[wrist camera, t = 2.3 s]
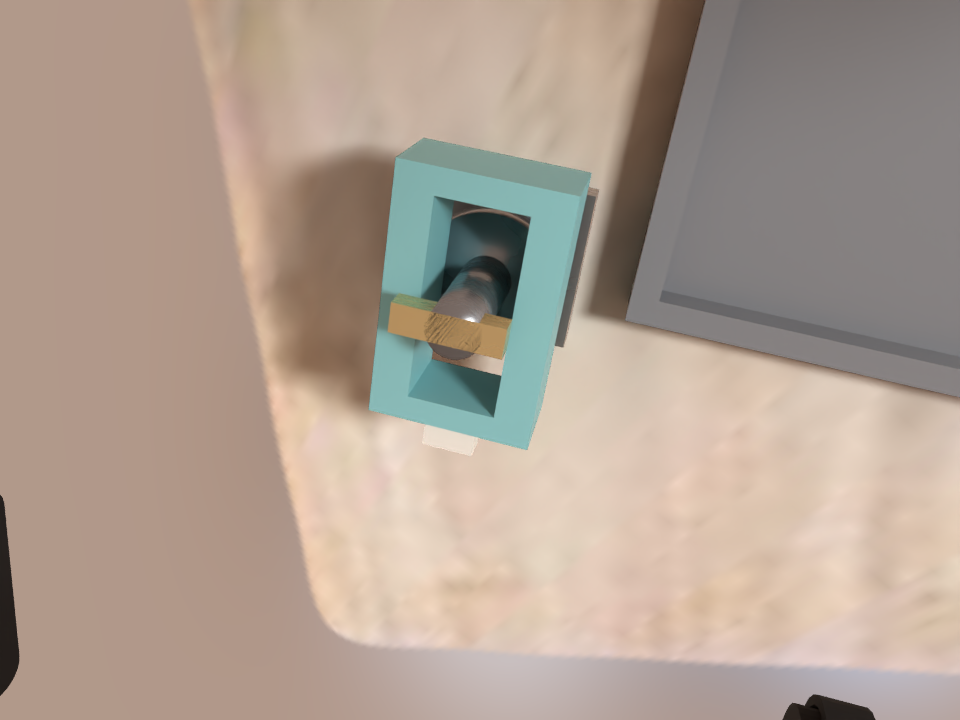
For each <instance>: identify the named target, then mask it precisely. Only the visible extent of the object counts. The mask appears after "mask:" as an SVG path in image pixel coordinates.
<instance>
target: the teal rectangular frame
mask: <svg viewBox="0 0 960 720" xmlns="http://www.w3.org/2000/svg"><path fill="white" fill-rule="evenodd" d="M591 174H592V173H590V172H585V171H580V170H576V169H571V168H566V167H561V166H556V165H552V164H547V163H542V162H537V161H532V160H528V159H523V158H518V157H513V156H508V155H504V154H499V153H494V152H489V151H484V150H480V149H475V148H470V147H465V146H460V145H456V144H451V143H446V142H441V141H436V140H432V139H427V138H423V139H421V140H420V141H419V142H417V143H416V144H414V145H413V146H411V147H410V148H408V149H407V150H406V151H404V152H403V153H401V154H400V155H398V156H397V157H396V159H395V168H394V178H393V187H392V196H391V206H390V215H389V224H388V234H387V243H386V252H385V262H384V271H383V280H382V290H381V299H380V308H379V318H378V327H377V336H376V346H375V355H374V364H373V374H372V383H371V392H370V402H369V410H371V411H375V412H379V413H383V414H387V415H391V416H395V417H399V418H403V419H407V420H410V421H414V422H418V423H422V424H425V428H424V435H423V442H422V444H425V445H429V446H433V447H437V448H441V449H445V450H449V451H452V452H456V453H460V454H464V455H468V456H472V454H473V451H474V449H475V447H476V445H477V442H478V440H479V438H481V439H485V440H489V441H493V442H497V443H501V444H505V445H509V446H513V447H517V448H521V449H525V450H527V449H528V446H529V443H530V440H531V437H532V434H533V431H534V428H535V425H536V422H537V419H538V416H539V413H540V410H541V407H542V402H543V397H544V393H545V388H546V383H547V379H548V374H549V369H550V365H551V360H552V355H553V351H554V346H555V341H556V337H557V332H558V327H559V323H560V318H561V313H562V309H563V304H564V299H565V295H566V290H567V285H568V281H569V276H570V271H571V267H572V262H573V257H574V253H575V248H576V243H577V239H578V234H579V229H580V225H581V220H582V215H583V211H584V206H585V201H586V197H587V192H588V188H589V183H590V178H591ZM454 200H456V201H460V202H465V203H470V204H474V205H479V206H483V207H488V208H493V209H497V210H502V211H506V212H511V213H516V214H520V215H525V216H529V217H531V221H530V226H529V232H528V237H527V242H526V248H525V253H524V258H523V264H522V269H521V275H520V280H519V285H518V291H517V296H516V301H515V307H514V312H513V318H512V324H511V330H510V335H509V340H508V346H507V350H506V355H505V361H504V366H503V371H502V376H499V375H495V374H491V373H487V372H483V371H479V370H475V369H471V368H467V367H462V366H458V365H454V364H450V363H446V362H442V361H438V360H434V359H432V353H433V350H432V348H431V347H430V346H429V344H428V343H427V342H426V341H422V340H418V339H414V338H410V337H406V336H402V335H397V334H393V333H389V332H388V324H389V315H390V306H391V302H392V301H393V299H394V298H395V297H396V296H397V295H398V294H399V293H401V294H406V295H410V296H414V297H418V298H423V299H427V300H431V301H436V302H438V301H439V300H440V297H441V290H442V283H443V276H444V269H445V262H446V255H447V248H448V241H449V234H450V227H451V220H452V213H453V205H454Z"/></svg>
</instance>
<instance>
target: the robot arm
mask: <svg viewBox="0 0 960 720" xmlns="http://www.w3.org/2000/svg"><path fill="white" fill-rule="evenodd" d="M18 665H19V647H18V638H17V627H16V617H15V607H14V597H13V587H12V577H11V567H10V557H9V547H8V537H7V527H6V517H5V507H4V501H3V498H2V496H1V495H0V696H1V694H2V693H3V692H4V691H5V690H6V689H7V688H8V686H9V685H10V683H11V682H12V680H13V678H14V676H15V674H16V671H17V669H18ZM783 720H875V718H874V715H873V713H872V712H871V711H870V710H869V709H868V708H866V707H862V706H858V705H855V704H850V703H847V702H843V701H839V700H835V699H832V698H828V697H824V696H820V695H812V696H811V697H810V698H809V699H808V701H807V703H806V704H805V706H804V705H800V704H796V703H792V704H791V705H790V706H789V707H788V709H787V711H786V713H785V715H784V718H783Z"/></svg>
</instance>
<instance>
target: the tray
mask: <svg viewBox="0 0 960 720" xmlns="http://www.w3.org/2000/svg"><path fill="white" fill-rule="evenodd" d="M625 321H630V322H634V323H638V324H643V325H647V326H651V327H656V328H660V329H664V330H669V331H673V332H677V333H682V334H686V335H690V336H695V337H699V338H704V339H708V340H712V341H717V342H721V343H725V344H730V345H734V346H738V347H743V348H747V349H751V350H756V351H760V352H764V353H769V354H773V355H777V356H782V357H786V358H791V359H795V360H799V361H804V362H808V363H812V364H817V365H821V366H825V367H830V368H834V369H838V370H843V371H847V372H851V373H856V374H860V375H864V376H869V377H873V378H878V379H882V380H886V381H891V382H895V383H899V384H904V385H908V386H912V387H917V388H921V389H925V390H930V391H934V392H938V393H943V394H947V395H951V396H956V397H960V0H705V1H704V5H703V9H702V13H701V17H700V21H699V25H698V29H697V32H696V36H695V40H694V44H693V48H692V52H691V56H690V60H689V64H688V68H687V72H686V76H685V80H684V84H683V88H682V92H681V96H680V100H679V104H678V108H677V112H676V116H675V120H674V124H673V128H672V132H671V136H670V139H669V143H668V147H667V151H666V155H665V159H664V163H663V167H662V171H661V175H660V179H659V183H658V187H657V191H656V195H655V199H654V203H653V207H652V211H651V215H650V219H649V223H648V227H647V231H646V235H645V239H644V243H643V246H642V250H641V254H640V258H639V262H638V266H637V270H636V274H635V278H634V282H633V286H632V290H631V294H630V298H629V302H628V307H627V312H626V318H625Z"/></svg>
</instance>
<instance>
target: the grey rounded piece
mask: <svg viewBox="0 0 960 720" xmlns="http://www.w3.org/2000/svg"><path fill="white" fill-rule="evenodd" d="M598 193H599V190H598V189H593V188H588V192H587V197H586V201H585V206H584V211H583V215H582V220H581V225H580V229H579V234H578V239H577V243H576V248H575V253H574V257H573V262H572V267H571V271H570V276H569V281H568V285H567V290H566V295H565V299H564V304H563V309H562V313H561V318H560V323H559V327H558V332H557V337H556V341H555V346H559V347H564V344H565V341H566V338H567V333H568V329H569V324H570V320H571V315H572V311H573V306H574V301H575V297H576V292H577V288H578V283H579V279H580V274H581V270H582V265H583V261H584V256H585V252H586V247H587V243H588V238H589V234H590V229H591V224H592V220H593V215H594V211H595V206H596V202H597V197H598ZM530 221H531V217H529V216H525V215H520V214H516V213H511V212H506V211H502V210H497V209H493V208H488V207H483V206H479V205H474V204H470V203H465V202H460V201H456V200H454V205H453V213H452V220H451V227H450V234H449V241H448V248H447V255H446V262H445V269H444V276H443V283H442V290H441V297H440V300H439V301H438V302H436V301H431V300H427V299H423V298H418V297H414V296H410V295H406V294H401V293H399V294H398V295H397V296H396V297H395V298H394V299H393V301H392V302H391V306H390V315H389V324H388V332H389V333H393V334H397V335H402V336H406V337H410V338H414V339H418V340H422V341H426V342H427V343H428V344H429V346H430V347H431V348H432V350H434V351H435V352H436V353H437V354H439V355H440V356H442V357H444V358H447V359H452V360H460V359H465V358H467V357H469V356H471V355H473V354H474V353H476V354H481V355H485V356H489V357H493V358H497V359H501V360H502V358H503V356H504V354H505V352H506V350H507V346H508V340H509V335H510V330H511V324H512V318H513V312H514V307H515V301H516V296H517V291H518V285H519V280H520V275H521V269H522V264H523V258H524V253H525V248H526V242H527V237H528V232H529V226H530Z"/></svg>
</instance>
